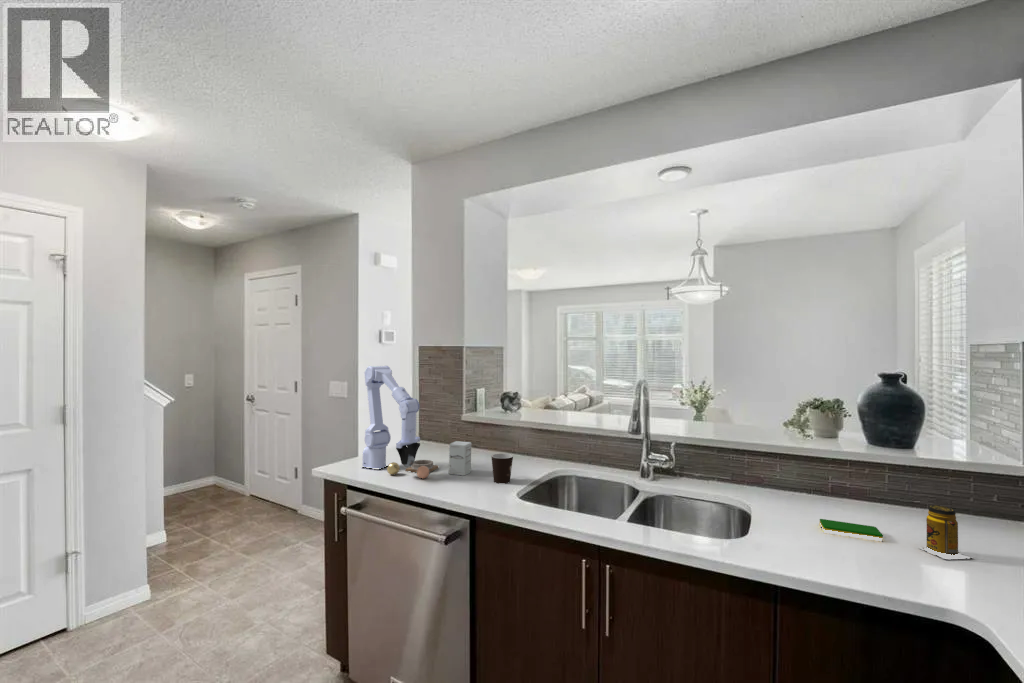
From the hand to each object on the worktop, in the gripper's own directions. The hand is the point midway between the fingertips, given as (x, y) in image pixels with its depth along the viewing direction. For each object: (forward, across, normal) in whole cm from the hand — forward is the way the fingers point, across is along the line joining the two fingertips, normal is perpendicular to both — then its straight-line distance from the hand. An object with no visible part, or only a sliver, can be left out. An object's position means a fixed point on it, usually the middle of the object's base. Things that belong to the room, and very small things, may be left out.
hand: (408, 462), depth 184 cm
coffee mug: (+6, +10, -38) cm, 40 cm away
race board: (+6, +11, 0) cm, 12 cm away
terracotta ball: (+3, 0, -7) cm, 8 cm away
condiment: (+5, -8, -169) cm, 169 cm away
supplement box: (+6, +13, -17) cm, 22 cm away
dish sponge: (+6, -1, -150) cm, 150 cm away
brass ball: (+3, 0, +7) cm, 8 cm away
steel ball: (-1, 0, 0) cm, 1 cm away
